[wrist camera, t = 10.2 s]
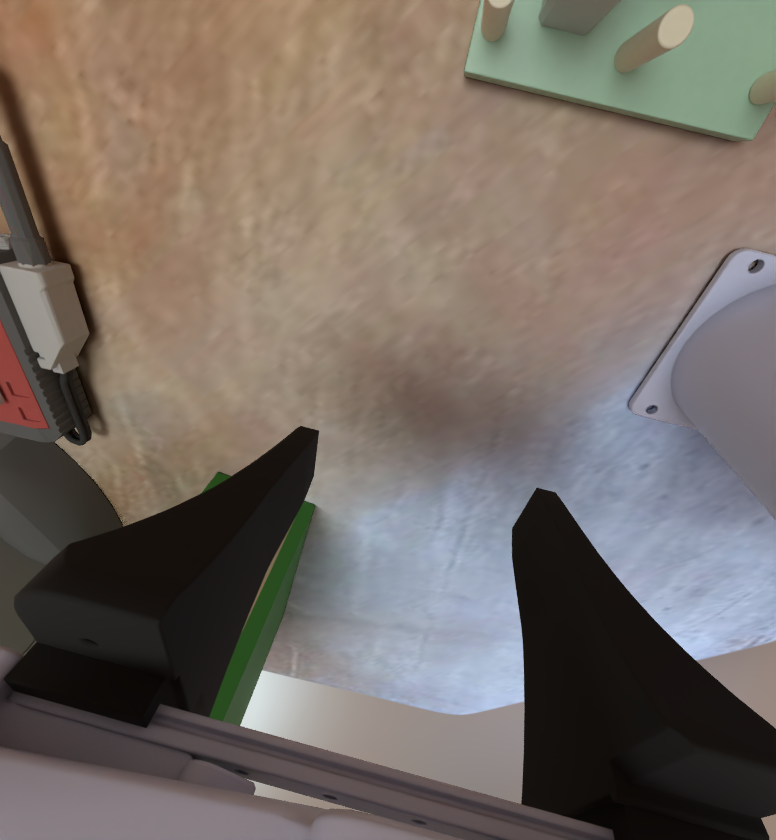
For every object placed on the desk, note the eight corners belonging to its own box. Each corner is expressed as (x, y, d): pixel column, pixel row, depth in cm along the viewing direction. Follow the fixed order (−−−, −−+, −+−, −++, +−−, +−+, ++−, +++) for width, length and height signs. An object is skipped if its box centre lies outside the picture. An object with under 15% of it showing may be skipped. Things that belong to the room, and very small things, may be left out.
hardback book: (217, 471, 28) (-357, 1207, 8) (315, 505, 28) (-21, 1290, 9) (210, 594, 38) (-57, 1056, 19) (282, 617, 38) (93, 1096, 19)
